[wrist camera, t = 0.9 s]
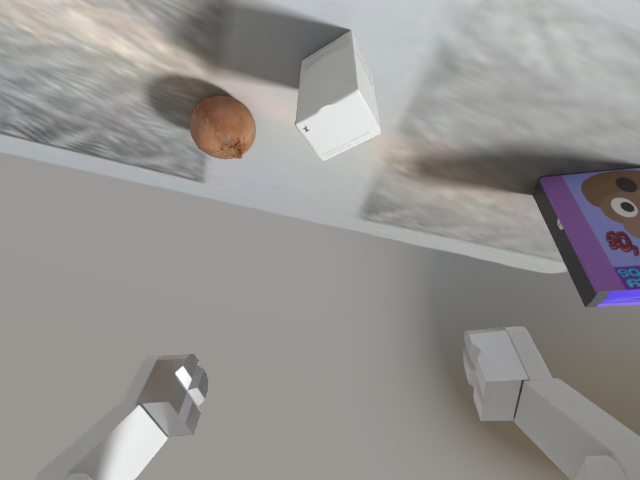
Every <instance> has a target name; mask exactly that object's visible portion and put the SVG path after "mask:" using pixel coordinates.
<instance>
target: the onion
mask: <svg viewBox="0 0 640 480" xmlns="http://www.w3.org/2000/svg"><path fill="white" fill-rule="evenodd" d="M190 132H191V135H192V138H193V140H194V142H195V143H196V145H197V146H198V147H199V148H200V149H201V150H203V151H204V152H205V153H207V154H208V155H210V156H212V157H215V158H220V159H232V158H239V159H240V158H241V157H242V154H244V153H245V152H246V151H248V150H249V148H250V147H251V145H252V143H253V141H254V139H255V133H256V127H255V121H254V119H253V116H252V114H251V113H250V111H249V110H248V108H247V107H246V106H245V105H244V104H242V103H241V102H240V101H238V100H237V99H234V98H232V97H228V96H212V97H208V98H205V99H202V100H200V103H199V104H198V105H197V106H196V107H195V109H194V110H193V112H192V114H191V118H190Z"/></svg>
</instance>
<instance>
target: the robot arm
mask: <svg viewBox="0 0 640 480" xmlns="http://www.w3.org/2000/svg"><path fill="white" fill-rule="evenodd" d="M464 340H465V343H466V346H467V347H466V348H465V349H464V352H463V353H464V354H463V355H464V356H463V358H464V367H465V371H466V375H467V379H468V382H469V383H470V384H471V385H472V386H473V387H474V401H475V404H476V407H477V410H478V413H479V416H480V420H481V421H498V420H499V421H500V420H501V421H502V420H514V422H515V423H516V424H517V425H518V426H519V427H520V428H521V429H522V430H523V431H524V433H526V435H527V436H528V437H529V438H530V439H531V440H532V441H533V442H534V443H535V444H536V445H537V446H538V447H539V448H540V449H541V450H542V451H543V452H544V453H545V454H546V455H547V456H548V457H549V458H550V459H551V460H552V461H553V462H554V463H555V464H556V465H557V466H558V467H559V468H560V469H561V470H562V471H563V472H564V473H565V474H566V475H567V476H568V478H569V479H570V480H640V437H639V436H638V435H636V434H635V433H634V432H632V431H631V430H630V429H628V428H627V427H625V426H624V425H623V424H621V423H620V422H618V421H617V420H616V419H614V418H613V417H612V416H610V415H609V414H607V413H606V412H605V411H603V410H602V409H600V408H599V407H598V406H596V405H595V404H593V403H592V402H591V401H589V400H588V399H586V398H585V397H584V396H582V395H581V394H579V393H578V392H577V391H575V390H574V389H573V388H571V387H570V386H568V385H567V384H566V383H564V382H563V381H562V380H560V379H553V378H552V376H551V374H550V373H549V371H548V369H547V367H546V365H545V363H544V361H543V359H542V357H541V356H540V354H539V352H538V350H537V348H536V346H535V344H534V342H533V341H532V339H531V337H530V335H529V333H528V331H527V329H526V328H525V327H523V326H519V327H507V328H491V329H481V330H471V331H466V332H465V336H464ZM197 363H198V359H197V358H196V356H195V355H194V354H186V355H169V356H152V357H146V358H145V359H144V360H143V361H142V362H141V364H140V366H139V368H138V370H137V372H136V374H135V375H134V377H133V379H132V381H131V383H130V385H129V388H128V389H127V391H126V393H125V395H124V397H123V399H122V401H121V403H120V405H119V406H114V407H113V408H112V409H111V410H110V411H109V412H107V413H106V414H105V415H104V416H103V417H102V418H101V419H100V420H98V421H97V422H96V423H95V424H94V425H93V426H91V428H89V429H88V430H87V431H86V432H85V433H84V434H82V435H81V436H80V437H79V438H78V439H77V440H76V441H74V442H73V443H72V444H71V445H70V446H69V447H68V448H66V449H65V450H64V451H63V452H62V453H61V454H60V455H59V456H57V457H56V458H55V459H54V460H53V461H52V462H51V463H49V465H47V466H46V467H45V468H44V469H43V470H42V471H41V472H39V473H38V475H37V477H36V478H35V480H135V479H136V477H137V476H138V475H139V474H140V472H141V471H142V470H143V469H144V467H145V466H146V465H147V464H148V462H149V461H150V460H151V459H152V458H153V456H154V455H155V454H156V453H157V451H158V450H159V449H160V448H161V446H162V445H163V444H164V443H165V441H166V440H167V439H168V438H167V437H173V436H185V435H194V432H195V429H196V426H197V423H198V420H199V417H200V411H199V408H198V406H199V405H200V404H201V403H202V402H203V401H204V400H205V397H206V394H207V391H208V378H207V374H206V372H205V371H204V369H202V368H201V367H199V366H197Z"/></svg>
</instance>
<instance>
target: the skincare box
mask: <svg viewBox="0 0 640 480" xmlns="http://www.w3.org/2000/svg"><path fill="white" fill-rule="evenodd" d="M295 126H296V127H297V129H298V130H299V131H300V132H301V134H302V135H303V136H304V138H305V139H306V140H307V141H308V143H309V144H310V145H311V146H312V148H313V149H314V150H315V151H316V153H317V154H318V155H319V157H320V158H321V159H322V161H325V160H327V159H329V158H331V157H333V156H335V155H337V154H339V153H341V152H343V151H345V150H347V149H349V148H351V147H353V146H356V145H358V144H360V143H362V142H364V141H366V140H368V139H370V138H372V137H374V136H376V135H379V134H380V133H381V129H380V123H379V117H378V110H377V104H376V98H375V91H374V85H373V78H372V71H371V68H370V66H369V63H368V61H367V60H366V58H365V56H364V54H363V52H362V50H361V48H360V46H359V44H358V42H357V40H356V38H355V36H354V34H353V32H352V31H351V30H350V31H349V32H347V33H345V34H344V35H342V36H340V37H339V38H337V39H336V40H334V41H332V42H331V43H329V44H328V45H326V46H324V47H323V48H321V49H320V50H318V51H316V52H315V53H313V54H312V55H310V56H309V57H307V58H305V59H304V60H303V61H302V62H301V71H300V83H299V93H298V103H297V114H296V121H295Z"/></svg>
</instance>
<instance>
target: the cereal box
mask: <svg viewBox="0 0 640 480" xmlns="http://www.w3.org/2000/svg"><path fill="white" fill-rule="evenodd" d="M533 197H534V199H535V201H536V203H537V205H538V207H539V210H540V212H541V214H542V216H543V218H544V220H545V222H546V224H547V227H548V229H549V231H550V233H551V235H552V237H553V239H554V241H555V244H556V246H557V248H558V250H559V252H560V254H561V256H562V259H563V261H564V263H565V265H566V267H567V269H568V271H569V273H570V276H571V278H572V280H573V282H574V284H575V286H576V288H577V290H578V293H579V295H580V297H581V299H582V301H583V303H584V305H585V307H599V306H617V305H639V304H640V167H634V168H624V169H613V170H603V171H593V172H582V173H572V174H562V175H551V176H541V177H540V179H539V181H538V184H537V186H536V189H535V191H534V193H533Z"/></svg>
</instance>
